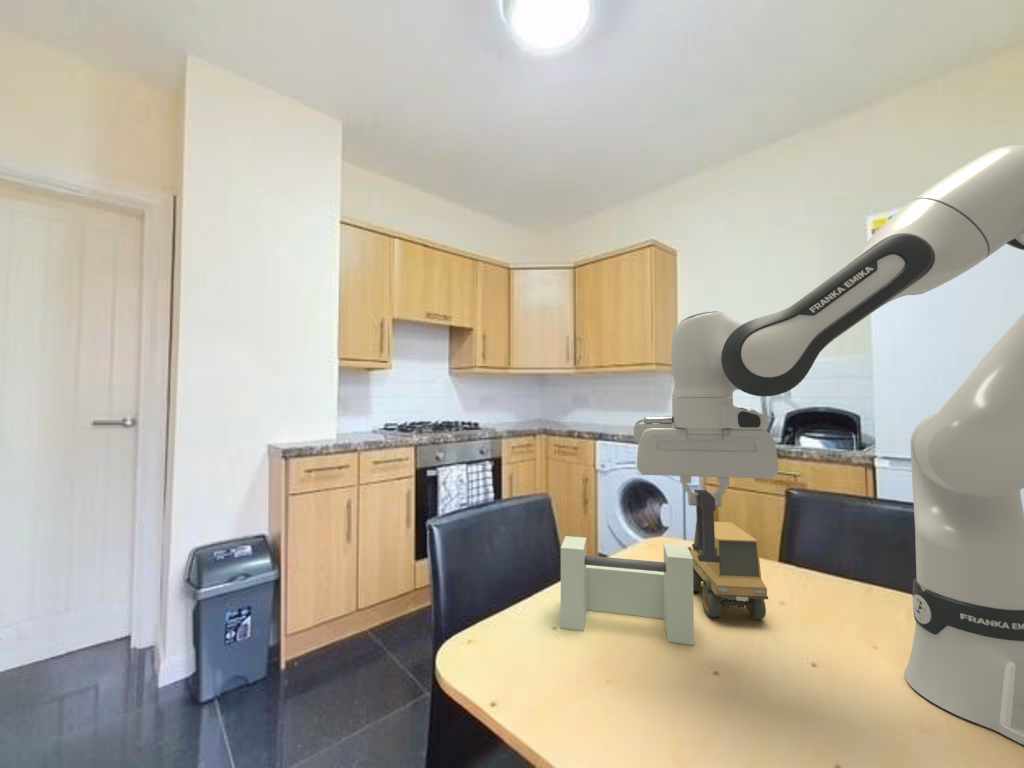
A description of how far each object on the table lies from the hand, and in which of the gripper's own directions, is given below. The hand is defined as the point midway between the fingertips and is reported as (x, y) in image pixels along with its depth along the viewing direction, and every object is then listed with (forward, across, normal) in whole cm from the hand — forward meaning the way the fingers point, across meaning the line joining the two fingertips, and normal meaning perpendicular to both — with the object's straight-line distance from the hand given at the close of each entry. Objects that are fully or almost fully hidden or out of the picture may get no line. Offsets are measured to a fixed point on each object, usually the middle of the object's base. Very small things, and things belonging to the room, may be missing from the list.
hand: (704, 505), depth 69 cm
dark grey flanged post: (+8, 0, 0) cm, 8 cm away
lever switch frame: (+24, -12, +10) cm, 28 cm away
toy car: (+24, +6, +22) cm, 33 cm away
